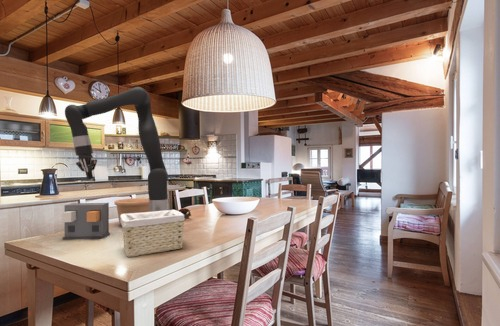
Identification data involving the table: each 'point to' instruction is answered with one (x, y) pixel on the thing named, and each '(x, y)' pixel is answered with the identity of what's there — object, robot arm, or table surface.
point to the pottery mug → (185, 212)
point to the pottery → (132, 206)
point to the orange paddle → (93, 216)
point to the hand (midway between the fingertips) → (90, 178)
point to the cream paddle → (69, 216)
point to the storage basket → (152, 232)
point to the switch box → (84, 228)
